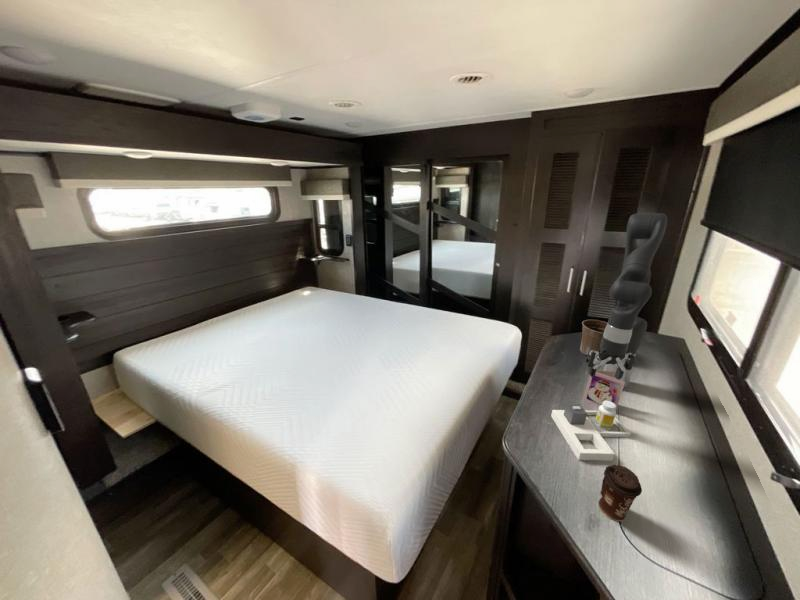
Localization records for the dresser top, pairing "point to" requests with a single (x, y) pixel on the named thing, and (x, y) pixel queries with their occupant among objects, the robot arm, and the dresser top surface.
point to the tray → (611, 434)
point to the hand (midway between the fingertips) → (604, 377)
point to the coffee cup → (618, 491)
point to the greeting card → (603, 388)
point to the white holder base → (581, 433)
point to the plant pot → (592, 335)
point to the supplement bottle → (605, 415)
